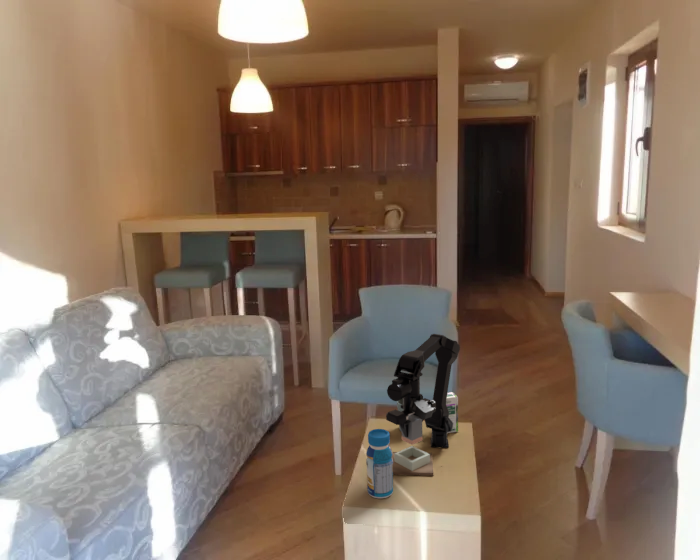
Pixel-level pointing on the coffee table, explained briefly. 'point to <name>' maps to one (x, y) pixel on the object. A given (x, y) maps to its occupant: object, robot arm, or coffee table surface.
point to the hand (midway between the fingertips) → (412, 434)
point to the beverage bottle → (379, 464)
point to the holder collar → (403, 460)
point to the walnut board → (421, 470)
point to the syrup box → (453, 410)
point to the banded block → (413, 430)
